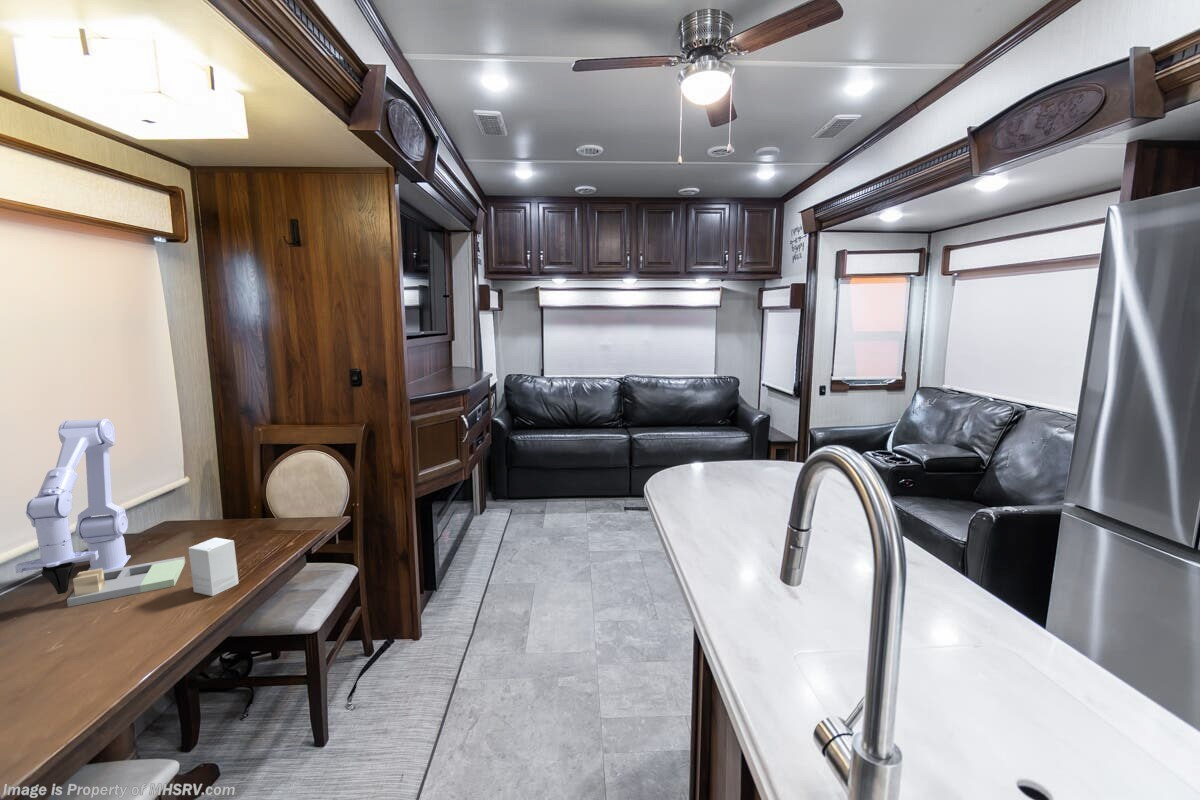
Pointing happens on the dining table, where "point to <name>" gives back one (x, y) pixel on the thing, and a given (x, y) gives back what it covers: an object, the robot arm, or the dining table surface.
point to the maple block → (89, 581)
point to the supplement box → (213, 566)
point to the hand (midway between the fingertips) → (63, 592)
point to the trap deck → (133, 580)
